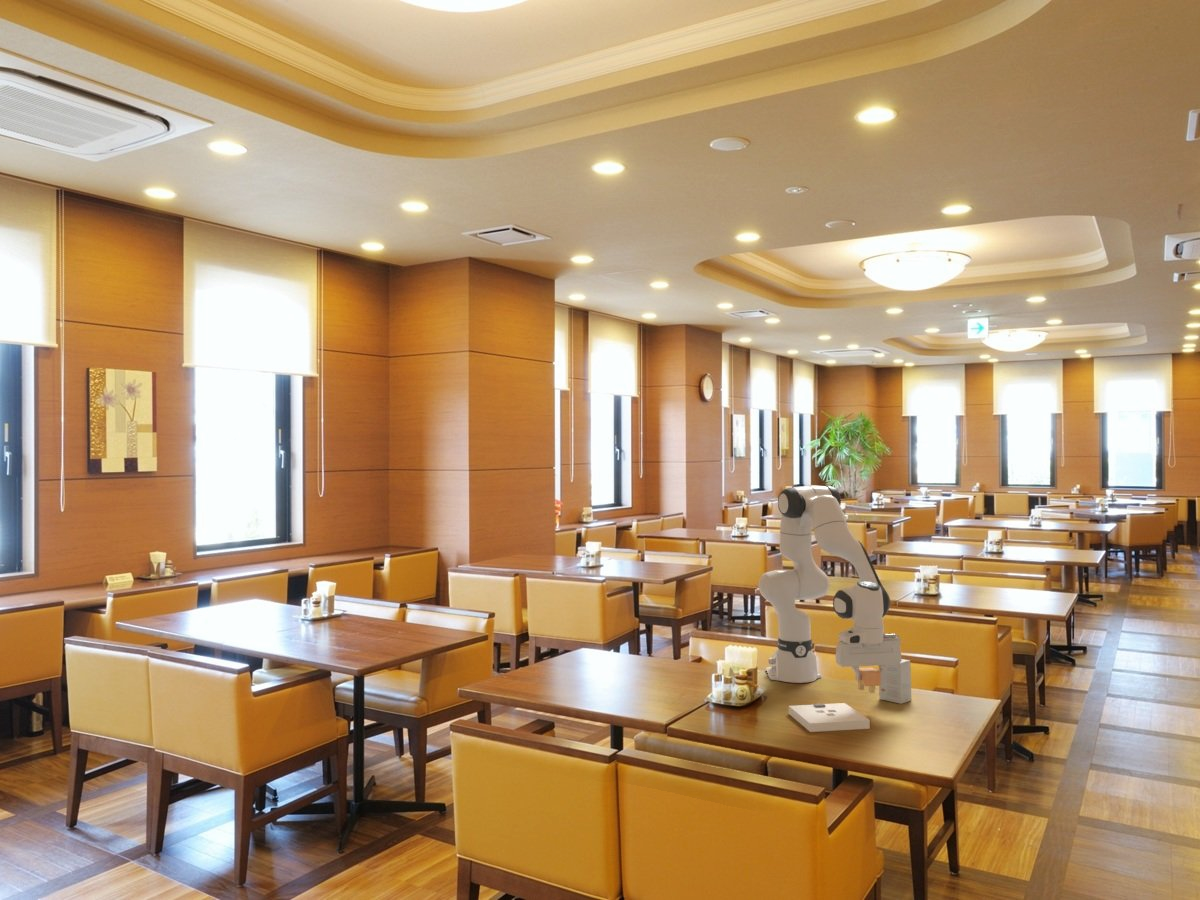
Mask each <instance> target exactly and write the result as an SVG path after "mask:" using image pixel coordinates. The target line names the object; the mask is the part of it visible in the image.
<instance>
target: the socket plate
mask: <svg viewBox="0 0 1200 900" xmlns="http://www.w3.org/2000/svg"><path fill="white" fill-rule="evenodd" d="M788 715H789V716H790V717H792V718H793V719H794V720H795V721H796V722H798V723H799V724H800V725H801V726H802V727H804V728H805V729H806V730H807V731H808V732H810V733H816V732H836V731H837V732H838V731H852V730H853V731H854V730H868V729H869V730H870V727H871V725H870V724H871V723H870V722H871V721H870V719H869V718H867V717H866V716H865V715H863V714H862V713H860V712H858V711H857V710H856V709H854V708H852V707H851V706H850V705H848V704H847V703H846V702H841V703H840V702H838V703H837V702H835V703H823V702H820V703H813V704H801V705H788Z"/></svg>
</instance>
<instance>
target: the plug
mask: <svg viewBox="0 0 1200 900" xmlns="http://www.w3.org/2000/svg"><path fill="white" fill-rule="evenodd" d="M858 672H859V673H860V674H862V680H856V681H857V685H858V687H857V689H858V690H859V691H864V690H865V687H868V692H869V694H875V690H876V687H877V686H878V687H879V686H881V672H879V671H878V670H877V669H876V668H874V667H873V666H870V667H869V666H868V667H859V669H858Z"/></svg>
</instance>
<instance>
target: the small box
mask: <svg viewBox="0 0 1200 900" xmlns="http://www.w3.org/2000/svg"><path fill="white" fill-rule="evenodd" d="M911 665H912V664H911V660H910V659H904V658H902V660H901V662H900V664H895V665H886V669H885V670H884V672H883V674H882V679H881V686H878V692H879V693H878V694H879V695H878V696H879V700H883V701H887V702H893V703H897V704H901V705H902V704H905V703H907V702H910V701H912V674H911V668H912V667H911ZM879 668H880V667H879V666H878V669H879Z"/></svg>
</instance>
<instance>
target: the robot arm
mask: <svg viewBox="0 0 1200 900" xmlns="http://www.w3.org/2000/svg"><path fill="white" fill-rule="evenodd" d="M841 504H842V499H841V495H840V493H839V490H838V489H837V488H836V487H834V486H831V485H812V484H811V485H806V486H805V485H804V486H798V487H797V486H796V487H788V488H785V489H782V490H781V491H780V493H779V495H778V496H777V507H778V510H779V512H780V513H781V518H780V525H779V526H780V527H779V547H778V548H779V553H780V554H781V555H782V557H784V559H787V560H788V561H790V562H792V563H793V568H792V569H775V570H770V571H767V572H763V574H762V575H761V576H760V578H759V579H758V590H759V593H760V594H761V596H762V597H763V598H764V599H765V600H766V601H767V602H768V603H770V604H771V606H772V607H773V608H774V610H775V612H776V616H777V620H778V622H777V623H778V634H779V635H778V638H777V641H776V642H777V646H776V648H777V649H776V650H775V651H774V652H773V654H772V655H771V657H769V658H768V665H770V666H766V667H765V672H766V671H767V672H766V674H767V673H768V674H767V676H768V678H769V680H772V681H780V682H785V683H792V684H794V683H795V684H803V683H804V684H805V683H811V682H815V681H816V680H817V679H820V678H822V674H821V673H819V672H818V665H817V664H818V663H817V662H818V661H817V655H816V653H814V652H813V639H812V638H811V635H812V634H811V630H812V629H811V618H810V617H809V615H808V614H807V613H806V612H804V611H803V610H801V609H799V608H797V607H796V601H801V600H802V601H804V600H805V601H808V600H815V599H819V598H822V597H825V596H827V593H828V592H829V589H830V579H829V577H828V575H827V573H826V572H825V571H824V570H822V569H821V568H820V567H819V566H818V564H816V562H815V559H814V557H813V551H812V539H813V538H812V535H813V534H814V538H815V541H816V542H817V543H816V544H818V546H819V548H820V549H821V550H822V551H824V552H825V553H827V554H830V555H832V556H836V557H838V558H841V559H844V560H845V561H847V562H850V564H851V565H852V566H853V567H854V569H855V571H856V573H857V575H858V577H859V581H857V582H856V583H854V585H853V586H851V587H847V588H843V589H839V590H837V592H835V594H834V596H833V601H832V607H833V610H834V612H835V614H836V615H837V616H838V617H839V618H841V619H843V620H844V619H845V620H853V627H851V628H848V629H846V630H844V631H840V632H839V633H838V635H837V636H838V639H839V641H838V642H837V643H836V647H835V648H836V649H835V663H836V664H837V665H838V666H840V667H841V668H845V667H846V668H847V667H851V669H852V670H853V672H854V674H855V675H854V676H855V677H854V678H855V680H856V681H857V680H862V674H860V673H859V672H858V669H859V668H860V667H865V666H866V667H869V666H870V667H873V666H878V670H877V671H879V672H881V679H882V674H883V672H884V670H885V669H886V665H895V664H900V662H901V660H902V659H903V658H902V649H901V644H902V643H901V637H900V636H899V635H897V634H896V633H891V634H888V633H884V631H885V629H884V622H883V618H884V617H885V616H886V615H887V613H888V612H889V611H890V608H891V598H890V596H889V593H888V591H887V590H886V589H885V587H884V586H883V584H882V582H881V580H880V579H879V577H878V574H877V572H876V570H875V568H874V565H873V562H872V561H871V559H870V556H869V554H868V553H867V552H868V551H867V550H866V547H864V544H862V542H861V541H859V540H858V539H857V538H856V537H855V536H854V535H853V533H852V532H851V530H850V528H849V526H848V523H847V520H846V517H845V514H844V511H843V509H842V505H841ZM812 532H813V534H812ZM879 667H880V668H879Z"/></svg>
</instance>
